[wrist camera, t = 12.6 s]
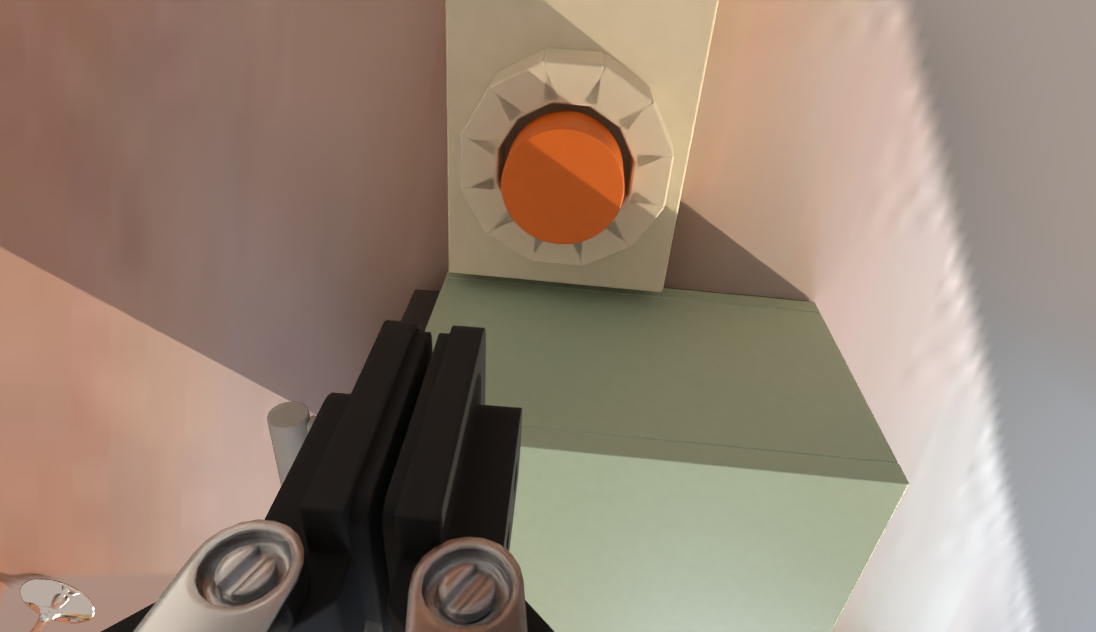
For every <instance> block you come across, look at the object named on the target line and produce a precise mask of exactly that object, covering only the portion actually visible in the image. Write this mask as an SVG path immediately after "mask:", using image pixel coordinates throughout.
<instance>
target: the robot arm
mask: <svg viewBox="0 0 1096 632" xmlns="http://www.w3.org/2000/svg"><path fill="white" fill-rule="evenodd" d="M485 384H486V330H485V328H481V327H469V326H456V325H453V326H452V328H451V331H450V333H439V335H438V338H437V341H436V344H435V347H434V350H433V349H432V335H431V332H424V331H421V327H420V324H419V323H418V322H405V321H392V320H386V321H385V322H384V324H383V325H382V328H381V330H380V332H379V334H378V336H377V339H376V341H375V343H374V345H373V347H372V349H371V352H370V354H369V356H368V358H367V360H366V363H365V365H364V367H363V369H362V371H361V374H360V376H359V378H358V380H357V382H356V384H355V387H354V389H353V391H352V393H351V394H342V393H331V394H330V395H328V396H327V398H326V399H325V401H324V403H323V405H322V407H321V409H320V411H319V413H318V414H317V416H316V418H315V420H314V422H313V424H312V426H311V428H310V430H309V432H308V434H307V436H306V438H305V440H304V442H303V444H302V446H301V448H300V450H299V452H298V454H297V456H296V458H295V460H294V462H293V464H292V466H291V468H290V470H289V472H288V474H287V476H286V478H285V480H284V482H283V484H282V486H281V488H280V490H279V492H278V494H277V496H276V498H275V500H274V502H273V504H272V506H271V508H270V510H269V512H268V514H267V516H266V518H265V520H252V521H246V522H241V523H238V524H235V525H233V526H230V527H228V528H225V529H223V530H221V531H220V532H218V533H217V534H215V535H214V536H212V537H210V538H209V539H207V540H206V541H205V542H204V543H203V544H202V545H201V546H200V547H199V548H198V549H197V550H196V551H195V552H194V553H193V554H192V556H191V557H190V558H189V560H188V561H187V562H186V564H185V565H184V566H183V567H182V569H181V570H180V571H179V573H178V574H177V575H176V577H175V578H174V579H173V580H172V582H171V583H170V584H169V586H168V587H167V588H166V590H165V591H164V592H163V594H162V595H161V596H160V597H159V599H158V600H157V601H156V602H155V603H153V604H151V605H150V606H148V607H146V608H144V609H142V610H140V611H138V612H137V613H135V614H133V615H131V616H129V617H128V618H126V619H124V620H122V621H120V622H118V623H116V624H114V625H113V626H111V627H109V628H107V629H105V630H103V631H101V632H554V630H553V629H552V628H551V627H550V626H549V625H548V624H547V623H546V622H545V621H544V620H543V619H542V617H541V616H540V615H539V614H538V613H537V612H536V611H535V610H534V609H533V608H532V607H531V606H530V604H529V603H528V602H527V601H526V600H525V591H524V580H523V576H522V572H521V568H520V565H519V564H518V562H517V561H516V559H515V558H514V557H513V555H512V554H511V553H510V552H509V550H510V542H511V533H512V525H513V517H514V508H515V500H516V491H517V482H518V472H519V461H520V448H521V429H522V408H518V407H505V406H493V405H485Z"/></svg>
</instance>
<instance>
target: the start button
mask: <svg viewBox="0 0 1096 632" xmlns="http://www.w3.org/2000/svg"><path fill="white" fill-rule="evenodd" d="M624 190H625V183H624V171H623V159H622V154H621V151H620V148H619V145H618V143H617V141H616V139H615V138H614V136H613V135H612V133H611V132H610V131H609V130H608V129H607V128H606V127H605V126H604V125H603V124H602V123H600V122H599V121H598V120H596V119H594V118H593V117H591V116H588V115H586V114H583V113H580V112H575V111H554V112H550V113H546V114H544V115H541V116H539V117H537V118H535V119H534V120H532V121H531V122H529V123H528V124H527V125H526V126H525V127H524V128H523V129H522V130H521V131H520V132H519V133H518V135H517V136H516V138H515V139H514V141H513V143H512V146H511V148H510V151H509V154H508V157H507V160H506V163H505V166H504V169H503V173H502V179H501V191H502V197H503V201H504V204H505V207H506V209H507V211H508V213H509V214H510V216H511V217H512V219H513V220H514V221H515V223H516V224H517V225H518V226H519V227H520V228H521V229H522V230H524V231H525V232H527V233H528V234H529V235H531V236H533V237H535V238H537V239H539V240H542V241H545V242H548V243H554V244H574V243H579V242H582V241H585V240H588V239H590V238H592V237H594V236H596V235H598V234H599V233H601V232H602V231H603V230H604V229H606V228H607V227H608V226H609V225H610V224H611V223H612V221H613V220H614V218H615V217H616V216H617V214H618V212H619V210H620V208H621V205H622V202H623V198H624Z"/></svg>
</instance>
